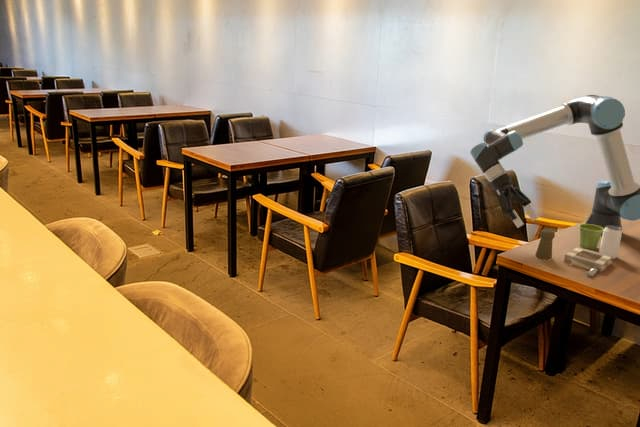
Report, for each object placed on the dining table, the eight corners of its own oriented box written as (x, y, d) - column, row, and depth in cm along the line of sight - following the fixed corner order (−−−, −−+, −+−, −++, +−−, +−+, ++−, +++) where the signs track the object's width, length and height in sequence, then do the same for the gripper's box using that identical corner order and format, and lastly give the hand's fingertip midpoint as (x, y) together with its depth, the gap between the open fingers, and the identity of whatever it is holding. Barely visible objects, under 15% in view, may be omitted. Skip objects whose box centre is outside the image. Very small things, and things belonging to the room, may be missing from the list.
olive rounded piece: (531, 255, 210) (536, 228, 206) (543, 253, 212) (548, 226, 209) (543, 260, 204) (548, 233, 201) (555, 258, 207) (560, 231, 204)
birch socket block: (575, 254, 213) (577, 246, 212) (611, 263, 204) (612, 256, 203) (563, 262, 204) (565, 254, 203) (600, 272, 195) (601, 265, 194)
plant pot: (585, 251, 216) (589, 231, 213) (570, 243, 225) (574, 223, 222) (605, 251, 218) (609, 230, 215) (589, 242, 227) (593, 223, 224)
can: (618, 260, 208) (625, 231, 205) (600, 258, 209) (607, 229, 206) (613, 254, 214) (619, 225, 211) (596, 252, 216) (602, 224, 212)
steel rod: (595, 268, 199) (596, 263, 198) (600, 270, 197) (601, 265, 197) (585, 276, 192) (586, 270, 191) (591, 277, 190) (592, 272, 190)
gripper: (504, 178, 226) (533, 221, 220) (475, 187, 208) (506, 234, 203) (519, 168, 221) (549, 212, 215) (490, 176, 203) (522, 224, 198)
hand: (528, 222), depth 209 cm, fingers open, 13 cm apart
